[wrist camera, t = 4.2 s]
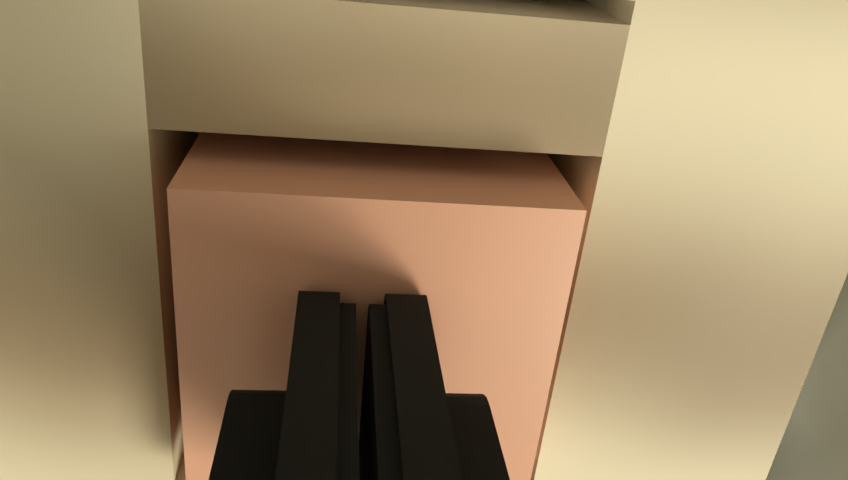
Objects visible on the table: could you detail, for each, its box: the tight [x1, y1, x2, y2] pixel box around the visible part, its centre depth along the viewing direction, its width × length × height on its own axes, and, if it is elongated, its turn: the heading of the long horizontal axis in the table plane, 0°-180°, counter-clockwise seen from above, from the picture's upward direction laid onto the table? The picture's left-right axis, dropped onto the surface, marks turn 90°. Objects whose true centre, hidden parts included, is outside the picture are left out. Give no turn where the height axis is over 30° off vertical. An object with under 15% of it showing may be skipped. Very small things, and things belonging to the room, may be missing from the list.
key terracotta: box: [167, 132, 587, 480], centre depth 11 cm, size 5×5×2 cm
